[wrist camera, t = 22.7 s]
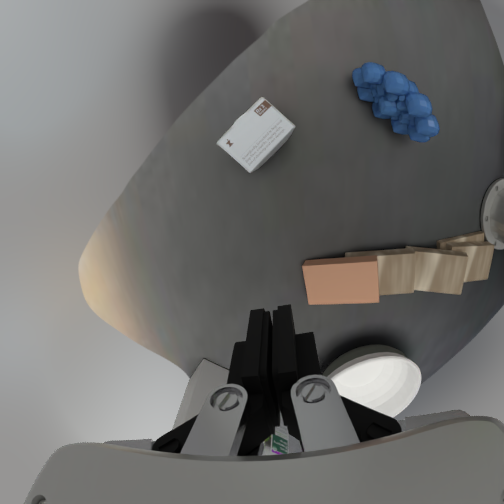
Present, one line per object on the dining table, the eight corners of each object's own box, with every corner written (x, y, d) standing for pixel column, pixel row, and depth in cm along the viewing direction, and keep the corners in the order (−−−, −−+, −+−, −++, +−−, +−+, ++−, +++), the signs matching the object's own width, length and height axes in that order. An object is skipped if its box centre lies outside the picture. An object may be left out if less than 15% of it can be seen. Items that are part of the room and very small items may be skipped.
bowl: (336, 411, 50) (341, 442, 42) (288, 362, 46) (290, 397, 38) (416, 368, 45) (431, 396, 37) (385, 305, 41) (404, 335, 33)
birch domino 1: (345, 252, 38) (412, 248, 35) (347, 290, 40) (411, 286, 37) (344, 257, 37) (415, 253, 33) (346, 296, 38) (413, 292, 35)
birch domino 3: (434, 238, 37) (477, 229, 36) (433, 273, 39) (475, 261, 38) (440, 242, 35) (484, 232, 34) (438, 278, 37) (481, 266, 36)
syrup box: (289, 411, 50) (290, 470, 37) (269, 423, 52) (266, 479, 38) (269, 400, 49) (266, 462, 36) (249, 412, 51) (242, 470, 37)
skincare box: (257, 170, 35) (250, 179, 24) (232, 147, 35) (212, 145, 23) (290, 137, 34) (299, 129, 22) (265, 113, 33) (261, 94, 21)
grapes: (421, 123, 31) (472, 118, 20) (393, 152, 33) (439, 155, 22) (366, 60, 29) (401, 29, 18) (334, 87, 31) (361, 61, 20)
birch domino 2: (405, 245, 37) (465, 252, 32) (401, 282, 39) (458, 288, 34) (405, 250, 36) (468, 256, 31) (401, 288, 38) (460, 294, 33)
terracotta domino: (308, 304, 39) (378, 302, 35) (302, 266, 37) (377, 261, 33) (312, 297, 41) (379, 294, 36) (305, 260, 39) (377, 255, 34)
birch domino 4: (445, 242, 35) (487, 241, 34) (439, 278, 37) (481, 274, 36) (452, 247, 33) (494, 245, 33) (445, 284, 35) (487, 279, 35)
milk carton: (239, 374, 47) (225, 464, 29) (222, 394, 50) (205, 477, 32) (203, 357, 47) (175, 446, 29) (189, 379, 49) (161, 460, 31)
